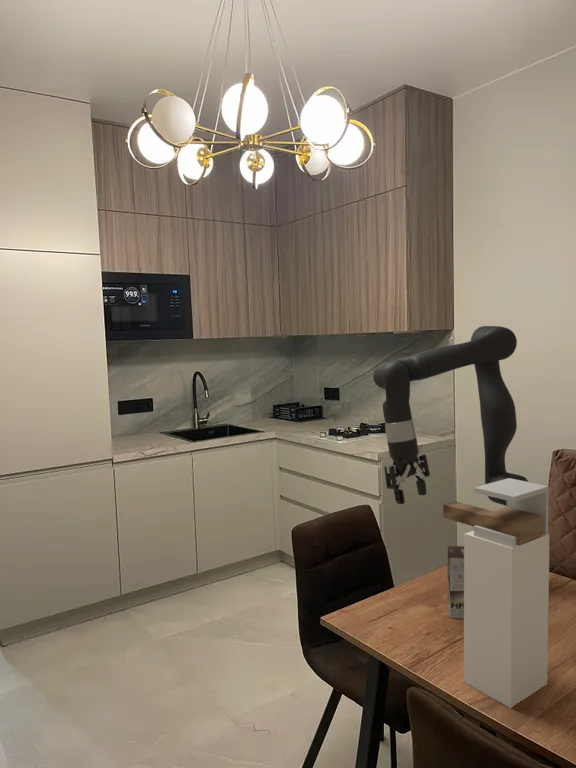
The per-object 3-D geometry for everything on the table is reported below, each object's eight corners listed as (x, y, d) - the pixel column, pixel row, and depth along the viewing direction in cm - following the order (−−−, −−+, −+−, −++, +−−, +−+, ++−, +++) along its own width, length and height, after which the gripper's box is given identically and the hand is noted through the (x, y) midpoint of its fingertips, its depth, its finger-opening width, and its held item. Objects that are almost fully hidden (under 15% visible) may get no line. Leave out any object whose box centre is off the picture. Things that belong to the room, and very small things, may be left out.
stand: (463, 682, 123) (464, 486, 119) (500, 660, 130) (502, 476, 127) (510, 708, 114) (512, 497, 110) (547, 683, 121) (550, 485, 118)
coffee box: (475, 620, 149) (475, 558, 148) (449, 618, 150) (449, 557, 149) (471, 603, 158) (471, 545, 157) (446, 602, 159) (446, 544, 158)
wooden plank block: (437, 519, 129) (437, 501, 129) (460, 512, 134) (460, 495, 133) (519, 544, 113) (519, 524, 112) (542, 535, 117) (542, 515, 117)
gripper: (393, 444, 144) (404, 508, 145) (430, 432, 153) (440, 492, 153) (372, 444, 150) (382, 505, 151) (408, 432, 159) (418, 491, 159)
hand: (412, 499), depth 152 cm, fingers open, 8 cm apart
